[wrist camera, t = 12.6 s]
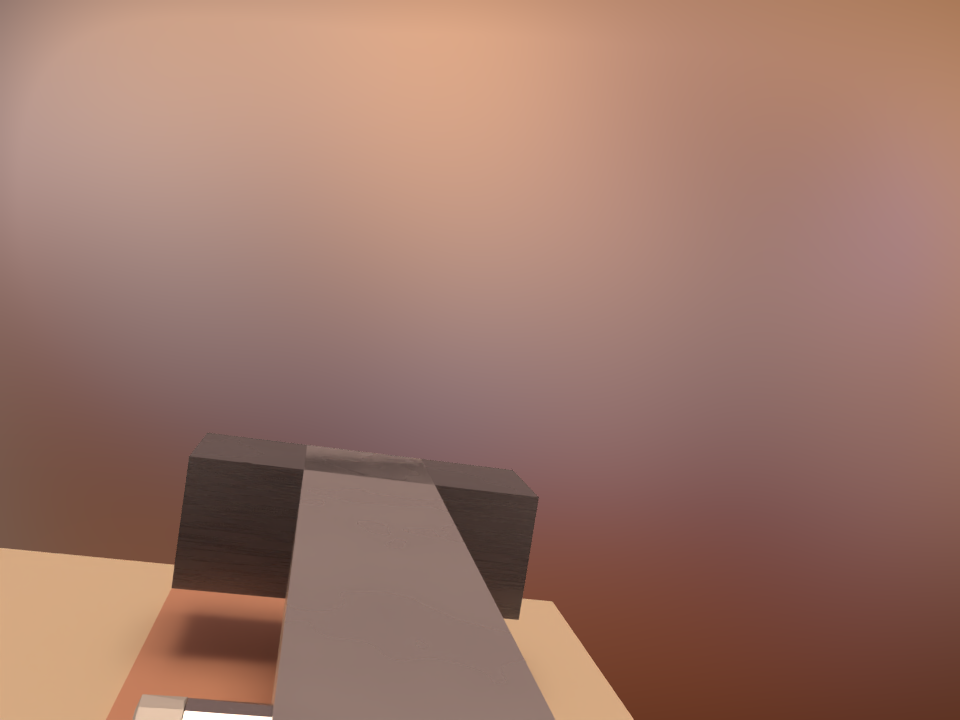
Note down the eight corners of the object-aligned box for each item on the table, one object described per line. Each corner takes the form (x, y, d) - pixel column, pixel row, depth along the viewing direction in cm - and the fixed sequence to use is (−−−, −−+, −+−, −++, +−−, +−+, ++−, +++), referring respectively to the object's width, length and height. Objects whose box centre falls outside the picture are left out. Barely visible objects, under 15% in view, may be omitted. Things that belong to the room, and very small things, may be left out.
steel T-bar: (-113, 1152, 7) (-70, 789, 7) (191, 548, 23) (207, 433, 23) (805, 1136, 8) (863, 836, 8) (495, 578, 24) (513, 470, 24)
